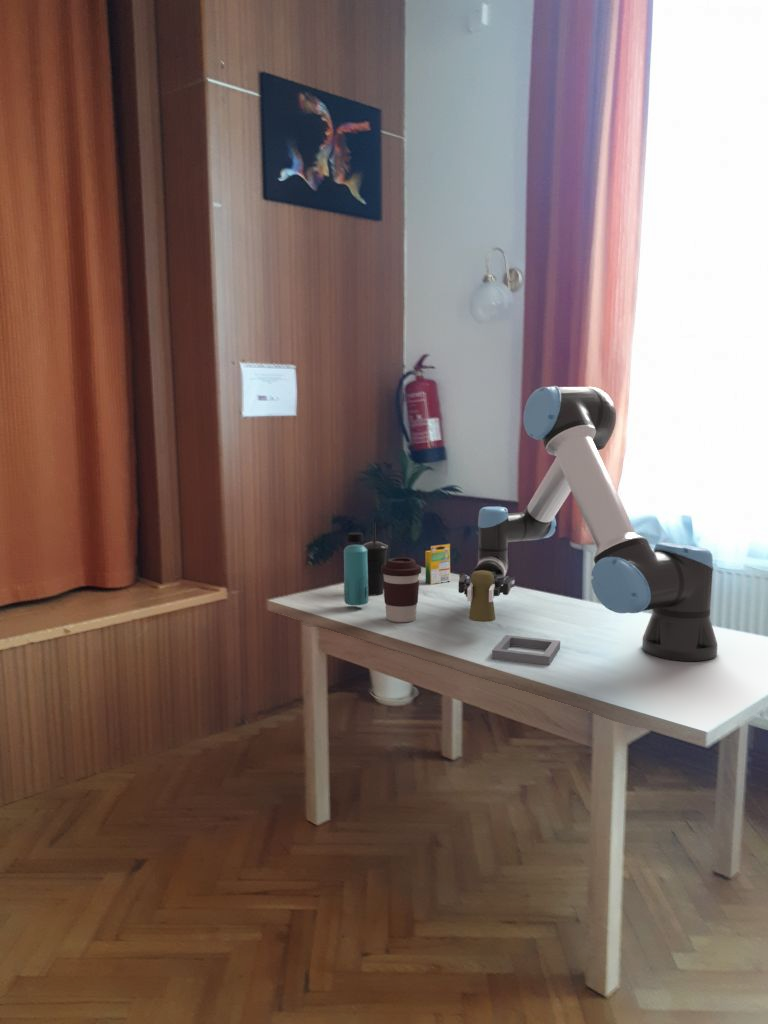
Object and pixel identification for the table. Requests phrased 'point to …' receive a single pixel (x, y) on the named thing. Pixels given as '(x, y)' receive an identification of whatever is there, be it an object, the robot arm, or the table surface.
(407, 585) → the coffee cup
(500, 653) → the gray square frame
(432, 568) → the crayon box
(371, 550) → the drinking cup
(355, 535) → the beverage bottle
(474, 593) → the cork
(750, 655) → the table surface
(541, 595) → the table surface
